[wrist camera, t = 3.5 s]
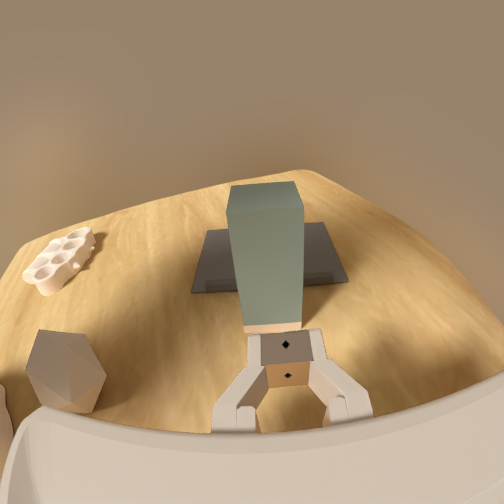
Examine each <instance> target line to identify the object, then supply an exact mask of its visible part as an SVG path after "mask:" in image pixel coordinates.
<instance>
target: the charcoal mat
mask: <svg viewBox="0 0 504 504" xmlns="http://www.w3.org/2000/svg"><path fill="white" fill-rule="evenodd" d="M343 282H348V279H347V277H346V274H345V272H344V269H343V267H342V265H341V262H340V260H339V258H338V255H337V253H336V251H335V248H334V246H333V244H332V241H331V239H330V237H329V235H328V232H327V230H326V228H325V226H324V224H323V222H318V223H304V269H303V286H310V285H322V284H333V283H343ZM225 291H238V289H237V282H236V276H235V269H234V263H233V256H232V250H231V243H230V236H229V229H221V230H209V231H207V234H206V238H205V241H204V245H203V249H202V252H201V256H200V260H199V264H198V267H197V271H196V275H195V279H194V283H193V287H192V291H191V293H206V292H225Z"/></svg>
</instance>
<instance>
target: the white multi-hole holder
mask: <svg viewBox="0 0 504 504" xmlns="http://www.w3.org/2000/svg"><path fill="white" fill-rule="evenodd" d="M94 244H96V240H95V238H94V235H93V232H92V230H91V228H90V227H82V228H79V229H76V230H74V231H73V232H71V233H70V234H68V235H67V236H64V237H62V238H56V239H54V240H52V241H51V242H50V243H49V245H48V246H47V247H46V248H45V249H44V250H43V251H42V252H41V253H40V254H39V255H38V256H37V258H36V259H35V260H34V261H33V262H32V263H31V265H30V266H29V267H28V268H27V269H25V271H24V272H23V274H22V278H23V280H24V281H25V282H27V283H29V284H36V286H37V288H38V290H39V291H40V293H41V294H42V295H44V296H48V295H52V294H54V293H56V292H58V291H59V290H61V289H62V287H63V285H64V284H65V282H66V281H67V280H69V279H70V278H71V277H73V276H75V275H76V274H77V273H78V272H79V271H80V270H81V269H82V266H83V264H84V263H85V261H86V260H88V259H89V258H90V256H91V254H92V250H94V249H95V248H96V247H93V245H94Z"/></svg>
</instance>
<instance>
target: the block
mask: <svg viewBox="0 0 504 504" xmlns="http://www.w3.org/2000/svg"><path fill="white" fill-rule="evenodd" d="M226 216H227V223H228V229H229V236H230V243H231V250H232V256H233V263H234V269H235V276H236V282H237V289H238V295H239V301H240V307H241V313H242V320H243V326H244V332H245V333H259V332H274V331H288V330H299V329H301V323H302V300H303V269H304V205H303V203H302V200H301V198H300V195H299V193H298V190H297V188H296V185H295V183H294V181H290V182H273V183H259V184H247V185H235V186H231V190H230V195H229V200H228V205H227V210H226Z"/></svg>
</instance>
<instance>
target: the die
mask: <svg viewBox="0 0 504 504" xmlns="http://www.w3.org/2000/svg"><path fill="white" fill-rule="evenodd" d="M25 371H26V373H27V375H28V378H29V380H30V382H31V385H32V387H33V389H34V391H35V393H36V395H37V397H38V399H39V401H40V403H41V405H42V406H44V405H47V406H51V407H54V408H57V409H61V410H64V411H67V412H71V413H92V411H93V409H94V406H95V404H96V401H97V399H98V396H99V394H100V391H101V389H102V387H103V384H104V382H105V380H106V377H107V374H106V373H105V371H104V369H103V367H102V366H101V364H100V362H99V360H98V359H97V357H96V355H95V353H94V351H93V349H92V348H91V346H90V344H89V342H88V340H87V338H86V336H85V334H75V333H65V332H56V331H48V330H40V329H39V331H38V333H37V336H36V339H35V342H34V345H33V348H32V351H31V354H30V357H29V360H28V363H27V366H26V370H25Z"/></svg>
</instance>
